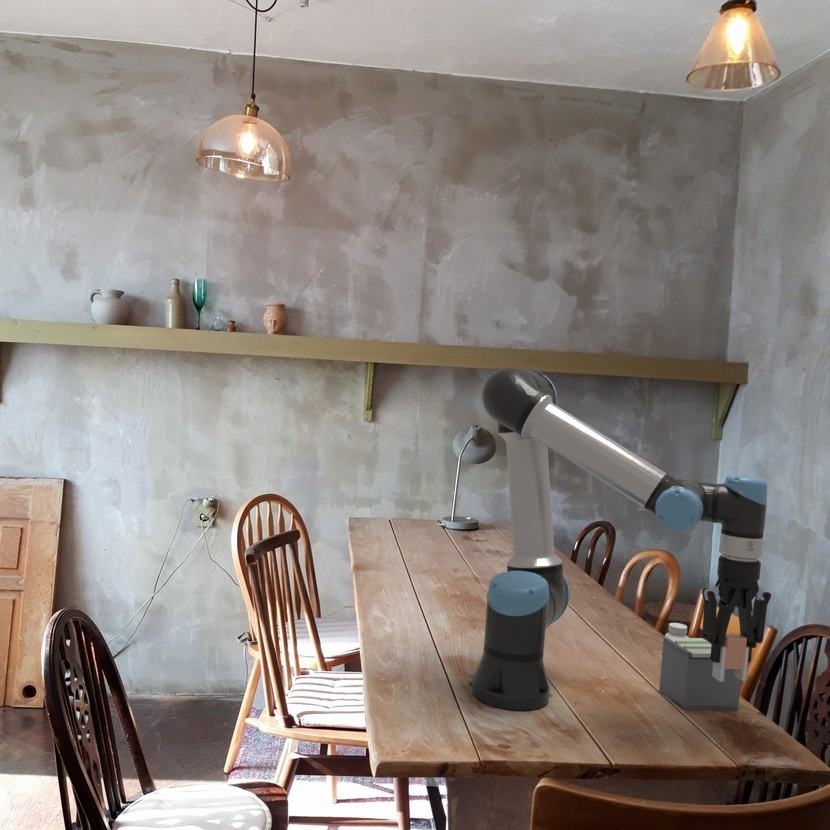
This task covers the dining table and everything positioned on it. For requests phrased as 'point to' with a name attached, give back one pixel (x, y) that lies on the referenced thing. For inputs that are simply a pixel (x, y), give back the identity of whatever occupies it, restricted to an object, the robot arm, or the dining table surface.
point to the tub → (695, 681)
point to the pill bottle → (677, 631)
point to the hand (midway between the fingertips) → (728, 678)
